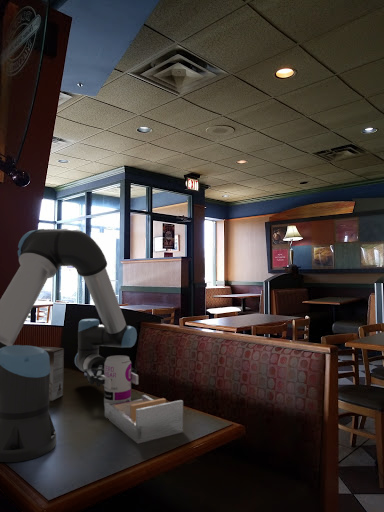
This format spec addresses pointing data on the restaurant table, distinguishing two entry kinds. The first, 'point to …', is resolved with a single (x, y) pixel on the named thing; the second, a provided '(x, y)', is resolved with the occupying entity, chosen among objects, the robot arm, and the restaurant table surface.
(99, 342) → the robot arm
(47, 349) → the coffee box
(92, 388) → the restaurant table surface
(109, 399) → the supplement can
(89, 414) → the restaurant table surface
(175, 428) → the white drawer tray
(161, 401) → the plate
